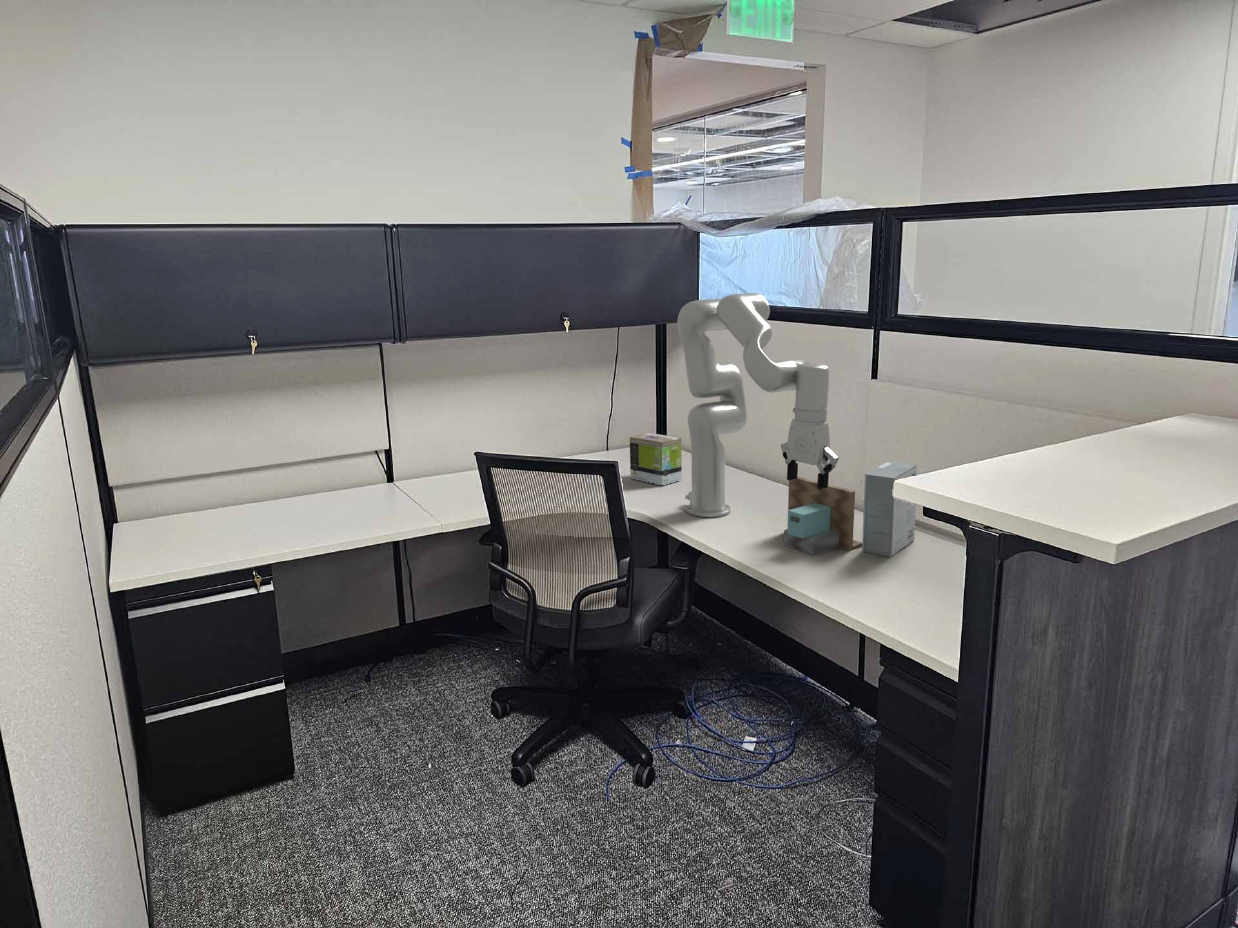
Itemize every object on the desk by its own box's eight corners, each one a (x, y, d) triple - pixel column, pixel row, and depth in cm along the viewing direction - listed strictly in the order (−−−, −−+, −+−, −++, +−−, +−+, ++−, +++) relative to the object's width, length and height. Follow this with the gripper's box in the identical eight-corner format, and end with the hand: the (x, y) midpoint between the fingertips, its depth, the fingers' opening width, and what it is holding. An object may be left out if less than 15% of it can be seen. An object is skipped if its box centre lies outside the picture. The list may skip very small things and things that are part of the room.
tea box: (682, 481, 271) (682, 437, 268) (661, 487, 265) (661, 442, 261) (650, 473, 282) (649, 431, 279) (629, 479, 275) (628, 436, 272)
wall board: (763, 538, 213) (764, 482, 209) (801, 527, 221) (803, 473, 218) (824, 558, 197) (826, 498, 194) (862, 545, 205) (865, 488, 202)
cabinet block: (785, 533, 203) (786, 510, 202) (814, 525, 209) (815, 502, 208) (801, 538, 200) (801, 515, 198) (830, 530, 206) (830, 507, 204)
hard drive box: (885, 535, 213) (889, 460, 208) (914, 540, 208) (919, 464, 204) (860, 551, 201) (864, 473, 197) (891, 557, 197) (895, 477, 192)
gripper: (773, 411, 202) (770, 478, 206) (828, 423, 188) (824, 494, 193) (794, 408, 206) (790, 473, 211) (849, 419, 193) (845, 489, 197)
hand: (806, 483), depth 202 cm, fingers open, 9 cm apart
